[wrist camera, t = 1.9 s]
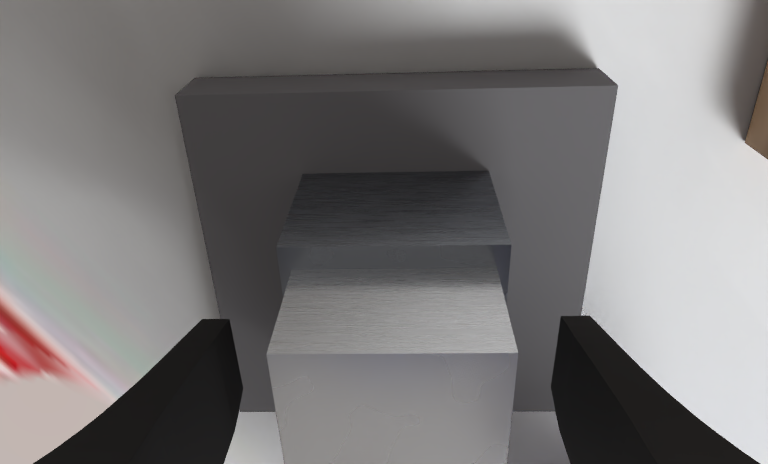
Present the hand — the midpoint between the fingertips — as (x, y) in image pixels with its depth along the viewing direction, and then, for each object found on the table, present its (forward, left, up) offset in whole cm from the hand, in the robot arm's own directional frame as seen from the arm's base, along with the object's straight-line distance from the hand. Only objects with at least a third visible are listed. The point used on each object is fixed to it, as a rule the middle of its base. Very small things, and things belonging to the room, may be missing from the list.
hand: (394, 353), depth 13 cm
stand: (0, 0, -5) cm, 5 cm away
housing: (0, 0, -3) cm, 3 cm away
